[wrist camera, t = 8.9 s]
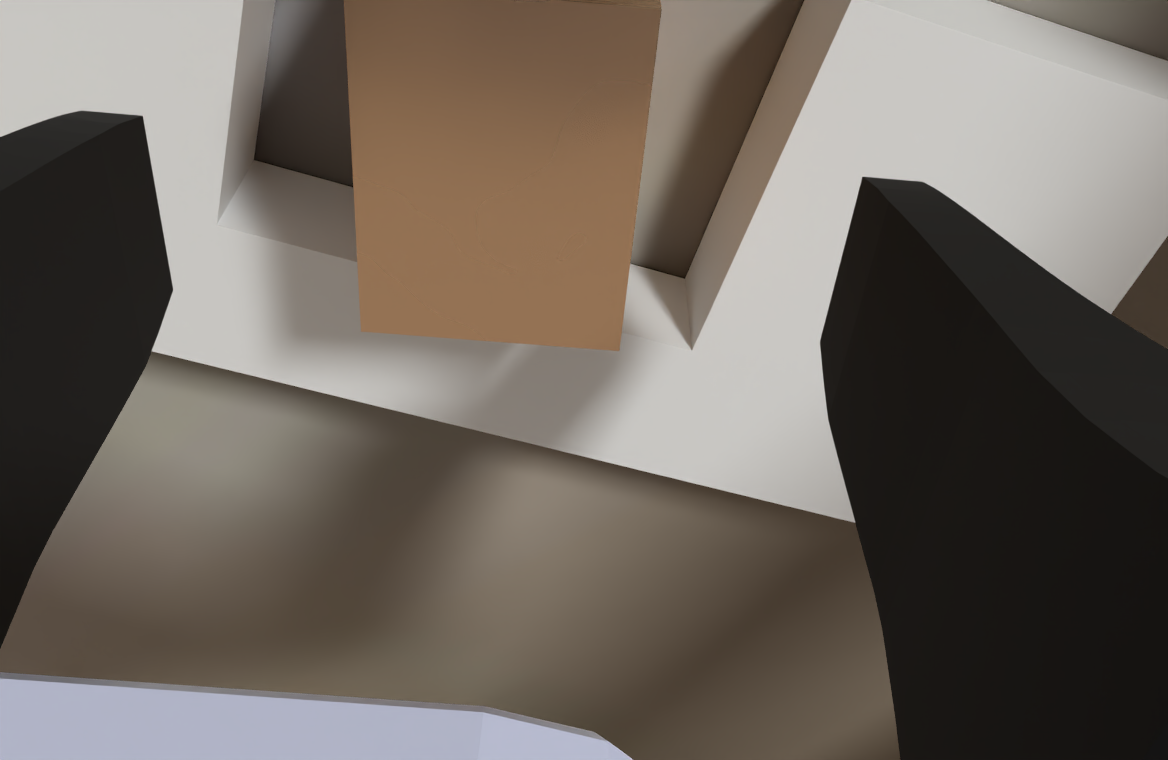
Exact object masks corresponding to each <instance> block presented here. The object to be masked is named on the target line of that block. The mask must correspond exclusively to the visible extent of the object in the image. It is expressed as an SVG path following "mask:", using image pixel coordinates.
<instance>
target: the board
mask: <svg viewBox="0 0 1168 760" xmlns="http://www.w3.org/2000/svg"><path fill="white" fill-rule="evenodd" d="M275 1H276V0H0V137H2V136H4V135H7V134H9V133H12V132H14V131H17V130H19V129H22V128H25V127H27V126H30V125H33V124H36V123H38V122H41V121H44V120H47V119H50V118H53V117H57V116H60V115H63V114H68V113H72V112H77V111H93V112H105V113H116V114H128V115H140V116H143V120H144V126H145V131H146V137H147V143H148V148H149V154H150V160H151V166H152V171H153V177H154V183H155V188H156V194H157V200H158V206H159V211H160V217H161V223H162V228H163V234H164V240H165V245H166V251H167V257H168V263H169V268H170V274H171V280H172V285H173V292H172V295H171V298H170V301H169V304H168V307H167V310H166V313H165V316H164V319H163V321H162V324H161V327H160V330H159V333H158V336H157V338H156V341H155V343H154V346H153V349H152V351H153V352H157V353H161V354H165V355H169V356H173V357H177V358H181V359H186V360H190V361H194V362H198V363H202V364H206V365H210V366H214V367H218V368H223V369H227V370H231V371H235V372H239V373H243V374H247V375H251V376H255V377H259V378H264V379H268V380H272V381H276V382H280V383H284V384H288V385H292V386H296V387H300V388H305V389H309V390H313V391H317V392H321V393H325V394H329V395H333V396H337V397H341V398H346V399H350V400H354V401H358V402H362V403H366V404H370V405H374V406H378V407H382V408H387V409H391V410H395V411H399V412H403V413H407V414H411V415H415V416H419V417H424V418H428V419H432V420H436V421H440V422H444V423H448V424H452V425H456V426H460V427H465V428H469V429H473V430H477V431H481V432H485V433H489V434H493V435H497V436H501V437H506V438H510V439H514V440H518V441H522V442H526V443H530V444H534V445H538V446H542V447H547V448H551V449H555V450H559V451H563V452H567V453H571V454H575V455H579V456H583V457H588V458H592V459H596V460H600V461H604V462H608V463H612V464H616V465H620V466H624V467H629V468H633V469H637V470H641V471H645V472H649V473H653V474H657V475H661V476H666V477H670V478H674V479H678V480H682V481H686V482H690V483H694V484H698V485H702V486H707V487H711V488H715V489H719V490H723V491H727V492H731V493H735V494H739V495H743V496H748V497H752V498H756V499H760V500H764V501H768V502H772V503H776V504H780V505H784V506H789V507H793V508H797V509H801V510H805V511H809V512H813V513H817V514H821V515H825V516H830V517H834V518H838V519H842V520H846V521H850V522H854V523H855V519H854V516H853V512H852V508H851V505H850V501H849V497H848V494H847V490H846V486H845V483H844V479H843V475H842V471H841V468H840V464H839V460H838V456H837V452H836V449H835V445H834V441H833V437H832V433H831V429H830V425H829V421H828V414H827V406H826V398H825V390H824V381H823V370H822V360H821V349H820V339H821V335H822V331H823V327H824V324H825V320H826V316H827V312H828V308H829V304H830V300H831V296H832V293H833V289H834V285H835V281H836V277H837V273H838V269H839V266H840V262H841V258H842V254H843V250H844V246H845V242H846V238H847V235H848V231H849V227H850V223H851V219H852V215H853V211H854V207H855V204H856V200H857V196H858V192H859V188H860V184H861V180H862V177H873V178H885V179H897V180H909V181H920V182H924V183H926V184H928V185H930V186H932V187H933V188H935V189H937V190H938V191H940V192H941V193H943V194H944V195H946V196H947V197H949V198H950V199H952V200H953V201H955V202H956V203H957V204H959V205H960V206H961V207H963V208H964V209H966V210H967V211H968V212H970V213H971V214H972V215H974V216H975V217H976V218H978V219H979V220H980V221H982V222H983V223H984V224H986V225H987V226H988V227H990V228H991V229H992V230H994V231H995V232H996V233H997V234H999V235H1000V236H1001V237H1003V238H1004V239H1005V240H1007V241H1008V242H1009V243H1011V244H1012V245H1013V246H1015V247H1016V248H1017V249H1019V250H1020V251H1021V252H1023V253H1024V254H1025V255H1027V256H1028V257H1029V258H1031V259H1032V260H1033V261H1035V262H1036V263H1038V264H1039V265H1040V266H1042V267H1043V268H1044V269H1046V270H1047V271H1048V272H1050V273H1051V274H1053V275H1054V276H1055V277H1057V278H1058V279H1060V280H1061V281H1062V282H1064V283H1065V284H1067V285H1068V286H1070V287H1071V288H1072V289H1074V290H1075V291H1077V292H1078V293H1080V294H1081V295H1082V296H1084V297H1085V298H1087V299H1088V300H1090V301H1091V302H1093V303H1095V304H1096V305H1098V306H1099V307H1101V308H1102V309H1104V310H1105V311H1107V312H1108V313H1110V314H1112V312H1113V311H1114V309H1115V308H1116V307H1117V305H1118V304H1119V302H1120V301H1121V300H1122V298H1123V297H1124V296H1125V294H1126V293H1127V291H1128V290H1129V289H1130V287H1131V286H1132V285H1133V283H1134V282H1135V280H1136V279H1137V278H1138V276H1139V275H1140V273H1141V272H1142V271H1143V269H1144V268H1145V267H1146V265H1147V264H1148V262H1149V261H1150V260H1151V258H1152V257H1153V256H1154V254H1155V253H1156V251H1157V250H1158V249H1159V247H1160V246H1161V244H1162V243H1163V242H1164V240H1165V239H1166V238H1167V236H1168V61H1166V60H1163V59H1160V58H1157V57H1154V56H1151V55H1148V54H1145V53H1142V52H1139V51H1136V50H1133V49H1130V48H1127V47H1124V46H1121V45H1119V44H1116V43H1113V42H1110V41H1107V40H1104V39H1101V38H1098V37H1095V36H1092V35H1089V34H1086V33H1083V32H1080V31H1077V30H1074V29H1071V28H1068V27H1065V26H1062V25H1059V24H1056V23H1053V22H1050V21H1047V20H1044V19H1041V18H1038V17H1035V16H1032V15H1029V14H1026V13H1023V12H1020V11H1017V10H1014V9H1011V8H1008V7H1005V6H1002V5H999V4H996V3H993V2H990V1H987V0H804V2H803V5H802V7H801V9H800V12H799V14H798V16H797V19H796V21H795V23H794V26H793V28H792V30H791V32H790V35H789V37H788V39H787V42H786V44H785V46H784V49H783V51H782V53H781V56H780V58H779V60H778V63H777V65H776V67H775V70H774V72H773V74H772V77H771V79H770V81H769V84H768V86H767V88H766V91H765V93H764V95H763V98H762V100H761V102H760V105H759V107H758V109H757V112H756V114H755V116H754V119H753V121H752V123H751V126H750V128H749V130H748V133H747V135H746V137H745V140H744V142H743V144H742V147H741V149H740V151H739V154H738V156H737V158H736V161H735V163H734V165H733V168H732V170H731V172H730V175H729V177H728V179H727V182H726V184H725V186H724V189H723V191H722V193H721V196H720V198H719V200H718V203H717V205H716V207H715V210H714V212H713V214H712V217H711V219H710V221H709V224H708V226H707V228H706V231H705V233H704V235H703V238H702V240H701V242H700V245H699V247H698V249H697V252H696V254H695V256H694V259H693V261H692V263H691V266H690V268H689V270H688V273H687V275H686V277H685V279H684V278H680V277H676V276H673V275H669V274H666V273H662V272H658V271H655V270H651V269H647V268H644V267H640V266H636V265H633V264H630V269H629V277H628V285H627V294H626V302H625V310H624V318H623V326H622V334H621V342H620V350H619V351H610V350H597V349H584V348H571V347H558V346H544V345H531V344H518V343H505V342H492V341H478V340H465V339H452V338H439V337H426V336H413V335H399V334H386V333H373V332H361V324H360V305H359V286H358V267H357V247H356V228H355V209H354V190H353V187H350V186H346V185H343V184H339V183H335V182H332V181H328V180H324V179H321V178H317V177H314V176H310V175H306V174H303V173H299V172H295V171H292V170H288V169H285V168H281V167H277V166H274V165H270V164H266V163H263V162H259V161H256V160H254V155H255V148H256V140H257V133H258V126H259V118H260V111H261V104H262V96H263V89H264V82H265V74H266V67H267V60H268V52H269V45H270V38H271V30H272V23H273V16H274V8H275Z"/></svg>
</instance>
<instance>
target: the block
mask: <svg viewBox="0 0 1168 760" xmlns="http://www.w3.org/2000/svg"><path fill="white" fill-rule="evenodd" d="M344 16H345V36H346V55H347V74H348V93H349V113H350V132H351V151H352V170H353V190H354V209H355V228H356V247H357V267H358V286H359V305H360V324H361V332H373V333H386V334H399V335H413V336H426V337H439V338H452V339H465V340H478V341H492V342H505V343H518V344H531V345H544V346H558V347H571V348H584V349H597V350H610V351H619V350H620V342H621V334H622V326H623V318H624V310H625V302H626V294H627V285H628V277H629V269H630V261H631V253H632V245H633V237H634V228H635V220H636V212H637V204H638V196H639V188H640V180H641V172H642V163H643V155H644V147H645V139H646V131H647V123H648V115H649V107H650V98H651V90H652V82H653V74H654V66H655V58H656V50H657V41H658V33H659V25H660V17H661V2H660V0H344Z"/></svg>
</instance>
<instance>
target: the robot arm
mask: <svg viewBox="0 0 1168 760" xmlns="http://www.w3.org/2000/svg"><path fill="white" fill-rule="evenodd" d="M172 292H173V285H172V280H171V274H170V268H169V263H168V257H167V251H166V245H165V240H164V234H163V228H162V223H161V217H160V211H159V206H158V200H157V194H156V188H155V183H154V177H153V171H152V166H151V160H150V154H149V148H148V143H147V137H146V131H145V126H144V120H143V116H140V115H128V114H116V113H105V112H93V111H77V112H72V113H68V114H63V115H60V116H57V117H53V118H50V119H47V120H44V121H41V122H38V123H36V124H33V125H30V126H27V127H25V128H22V129H19V130H17V131H14V132H12V133H9V134H7V135H4V136H2V137H0V648H1V645H2V643H3V641H4V638H5V636H6V634H7V631H8V629H9V626H10V624H11V622H12V619H13V617H14V614H15V612H16V610H17V607H18V605H19V602H20V600H21V598H22V595H23V593H24V590H25V588H26V586H27V583H28V581H29V578H30V576H31V574H32V571H33V569H34V567H35V565H36V563H37V561H38V559H39V557H40V555H41V553H42V551H43V549H44V547H45V545H46V543H47V541H48V539H49V537H50V535H51V533H52V531H53V529H54V528H55V526H56V524H57V522H58V521H59V519H60V517H61V515H62V514H63V512H64V510H65V508H66V507H67V505H68V503H69V501H70V500H71V498H72V496H73V494H74V493H75V491H76V489H77V488H78V486H79V484H80V482H81V481H82V479H83V477H84V475H85V474H86V472H87V470H88V468H89V467H90V465H91V463H92V461H93V460H94V458H95V456H96V454H97V453H98V451H99V449H100V447H101V446H102V444H103V442H104V440H105V439H106V437H107V435H108V433H109V432H110V430H111V428H112V426H113V425H114V423H115V421H116V419H117V418H118V416H119V414H120V412H121V410H122V409H123V407H124V405H125V403H126V401H127V400H128V398H129V396H130V394H131V392H132V391H133V389H134V387H135V385H136V383H137V381H138V380H139V378H140V376H141V374H142V372H143V370H144V368H145V367H146V364H147V362H148V359H149V356H150V354H151V351H152V349H153V346H154V343H155V341H156V338H157V336H158V333H159V330H160V327H161V324H162V321H163V319H164V316H165V313H166V310H167V307H168V304H169V301H170V298H171V295H172ZM820 349H821V360H822V370H823V381H824V390H825V398H826V406H827V414H828V421H829V425H830V429H831V433H832V437H833V441H834V445H835V449H836V452H837V456H838V460H839V464H840V468H841V471H842V475H843V479H844V483H845V486H846V490H847V494H848V497H849V501H850V505H851V508H852V512H853V516H854V519H855V523H856V527H857V530H858V534H859V538H860V541H861V545H862V549H863V552H864V556H865V560H866V563H867V567H868V571H869V574H870V578H871V582H872V585H873V589H874V593H875V598H876V602H877V607H878V611H879V616H880V620H881V625H882V630H883V636H884V643H885V650H886V656H887V663H888V670H889V677H890V684H891V690H892V697H893V704H894V711H895V718H896V726H897V734H898V742H899V751H900V759H901V760H1168V349H1166V348H1164V347H1163V346H1161V345H1159V344H1158V343H1156V342H1154V341H1153V340H1151V339H1149V338H1148V337H1146V336H1144V335H1143V334H1141V333H1139V332H1138V331H1136V330H1134V329H1133V328H1131V327H1130V326H1128V325H1127V324H1125V323H1124V322H1122V321H1121V320H1119V319H1117V318H1116V317H1114V316H1113V315H1111V314H1110V313H1108V312H1107V311H1105V310H1104V309H1102V308H1101V307H1099V306H1098V305H1096V304H1095V303H1093V302H1091V301H1090V300H1088V299H1087V298H1085V297H1084V296H1082V295H1081V294H1080V293H1078V292H1077V291H1075V290H1074V289H1072V288H1071V287H1070V286H1068V285H1067V284H1065V283H1064V282H1062V281H1061V280H1060V279H1058V278H1057V277H1055V276H1054V275H1053V274H1051V273H1050V272H1048V271H1047V270H1046V269H1044V268H1043V267H1042V266H1040V265H1039V264H1038V263H1036V262H1035V261H1033V260H1032V259H1031V258H1029V257H1028V256H1027V255H1025V254H1024V253H1023V252H1021V251H1020V250H1019V249H1017V248H1016V247H1015V246H1013V245H1012V244H1011V243H1009V242H1008V241H1007V240H1005V239H1004V238H1003V237H1001V236H1000V235H999V234H997V233H996V232H995V231H994V230H992V229H991V228H990V227H988V226H987V225H986V224H984V223H983V222H982V221H980V220H979V219H978V218H976V217H975V216H974V215H972V214H971V213H970V212H968V211H967V210H966V209H964V208H963V207H961V206H960V205H959V204H957V203H956V202H955V201H953V200H952V199H950V198H949V197H947V196H946V195H944V194H943V193H941V192H940V191H938V190H937V189H935V188H933V187H932V186H930V185H928V184H926V183H924V182H920V181H909V180H897V179H885V178H873V177H862V180H861V184H860V188H859V192H858V196H857V200H856V204H855V207H854V211H853V215H852V219H851V223H850V227H849V231H848V235H847V238H846V242H845V246H844V250H843V254H842V258H841V262H840V266H839V269H838V273H837V277H836V281H835V285H834V289H833V293H832V296H831V300H830V304H829V308H828V312H827V316H826V320H825V324H824V327H823V331H822V335H821V339H820ZM0 760H633V759H632V758H630V757H629V756H628V755H626V754H625V753H624V752H622V751H621V750H619V749H618V748H617V747H615V746H614V745H613V744H611V743H610V742H608V741H607V740H606V739H604V738H603V737H601V736H600V735H598V734H597V733H595V732H593V731H588V730H584V729H580V728H576V727H571V726H567V725H563V724H558V723H554V722H550V721H546V720H541V719H537V718H533V717H529V716H524V715H520V714H516V713H512V712H507V711H503V710H499V709H495V708H490V707H486V706H474V705H460V704H446V703H432V702H417V701H403V700H389V699H375V698H360V697H346V696H332V695H318V694H304V693H289V692H275V691H261V690H247V689H232V688H218V687H204V686H190V685H175V684H161V683H147V682H133V681H118V680H104V679H90V678H76V677H61V676H47V675H33V674H19V673H4V672H0Z"/></svg>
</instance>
